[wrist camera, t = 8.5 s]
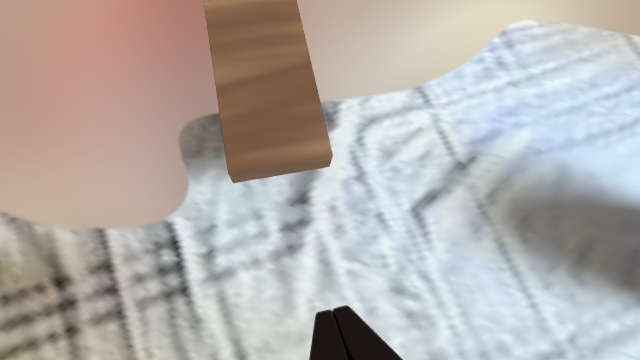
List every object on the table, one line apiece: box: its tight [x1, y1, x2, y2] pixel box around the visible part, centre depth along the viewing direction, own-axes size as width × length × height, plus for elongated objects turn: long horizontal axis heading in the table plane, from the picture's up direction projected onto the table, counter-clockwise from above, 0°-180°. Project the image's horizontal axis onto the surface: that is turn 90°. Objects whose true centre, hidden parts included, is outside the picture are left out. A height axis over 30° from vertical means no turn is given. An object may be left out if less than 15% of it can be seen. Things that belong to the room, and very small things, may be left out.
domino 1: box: [204, 0, 333, 183], centre depth 19 cm, size 2×5×10 cm
